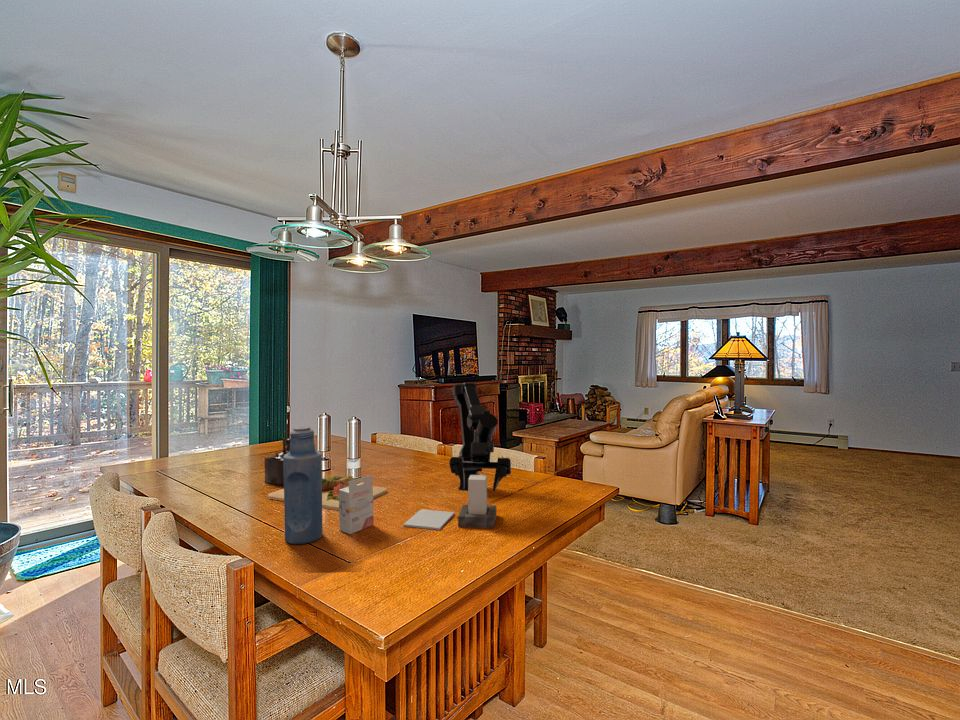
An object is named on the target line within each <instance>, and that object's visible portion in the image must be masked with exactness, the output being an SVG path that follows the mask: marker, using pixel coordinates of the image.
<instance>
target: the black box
mask: <svg viewBox="0 0 960 720" xmlns="http://www.w3.org/2000/svg"><path fill="white" fill-rule="evenodd" d="M281 444H282V451H279V452H277V453H275V454H274V455H273V456H268V457H264V483H267V484H272V485H278V486H279V485H280V486H284V476H283V457H284V455H285V454H287V453H290V444H291V437H287V438H286V437H285V438H282V443H281Z"/></svg>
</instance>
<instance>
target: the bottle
mask: <svg viewBox="0 0 960 720" xmlns="http://www.w3.org/2000/svg"><path fill="white" fill-rule="evenodd" d="M289 436H290V437H289V438H291V444H290V451H289V452H290V453H287V454H285V455H284V457H283V476H284V485H283V489H284V502H283V503H284V504H283V505H284V507H283V508H284V509H283V510H284V541H285V542H286V543H287V544H290V545H295V546H296V545H297V544H301V545H305V544H306V545H307V544H311V543H314V542H317V541H318V540H320V539H321V538H322V537H323V535H324V534H323V508H322V479H323V473H322V472H323V471H322V470H323V467H322V466H323V464H322V463H323V460H322V459H323V458H322V455H323V454H322V452H321V451H320V450H316V444H315V440H314V439H315V431H314V430H313V429H312V428H311V426H297V427H294V428H293V430H292V431H290V433H289Z"/></svg>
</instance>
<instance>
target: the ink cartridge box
mask: <svg viewBox="0 0 960 720" xmlns="http://www.w3.org/2000/svg"><path fill="white" fill-rule="evenodd" d="M372 477H373V476H372V475H370V474H369V475H367V476H362V477H358V478H354V479H355V480H351V481H349V482H348V484H349V487H346V488H343V489H339V511H338V515H339V516H338V518H339V531H340V532H343V533H345V534H348V535H351V534H354V533H357V532H360V531H362V530H364V529H367V528H369V527H372V526H374V499H373V486H374V485H373V478H372ZM357 483H359V484H357ZM356 484H357V485H356Z"/></svg>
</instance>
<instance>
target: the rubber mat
mask: <svg viewBox="0 0 960 720" xmlns="http://www.w3.org/2000/svg"><path fill="white" fill-rule="evenodd" d="M454 515H455V511H454V512H453V511H443V510H434V509H424V508H423V509H421V508H420V509H419V511H417V512H415V514H414V515H413V516H411V517H410V518H409V519H408V520H407V521H406V522H404V523H403V527H407V528H417V529H426V530H435V531H436V530H437V531H440V530H441V529H443V527H444V526H445V525H446V524H447V523H448V522H449V521H450V520H451V519H452V517H454Z"/></svg>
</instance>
